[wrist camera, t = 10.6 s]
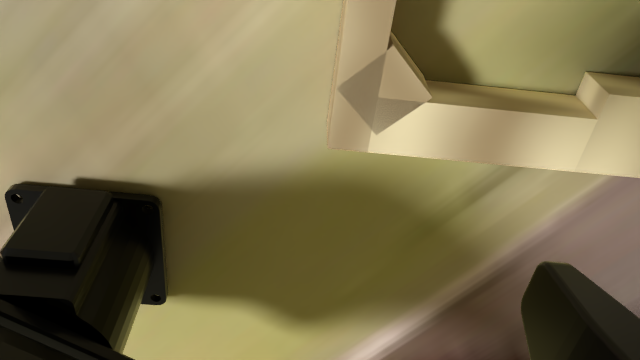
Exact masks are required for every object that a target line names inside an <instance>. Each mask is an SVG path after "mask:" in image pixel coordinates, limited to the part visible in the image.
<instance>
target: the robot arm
mask: <svg viewBox="0 0 640 360" xmlns="http://www.w3.org/2000/svg"><path fill="white" fill-rule="evenodd" d="M16 194H18V195H20V196H21V197H22V198H20V197H18V196H17V195H16ZM5 200H6V203H7V207H8V211H9V214H10V218H11V221H12V225H13V229H14V232H13V233H12V235H11V236H10V237H9V239H8V240H7V242H6V243H5V244H4V246H3V247H2V248H1V250H0V360H135V359H132V358H130V357H128V356H126V355H124V354H122V353H123V350H124V348H125V345H126V342H127V339H128V337H129V334H130V331H131V328H132V325H133V323H134V320H135V317H136V314H137V312H138V309H139V306H140V304H148V305H161V304H164V303H165V302H166V298H167V295H168V286H167V271H166V257H165V243H164V229H163V214H162V204H161V201H160V200H159V199H158V198H156V197H155V196H151V195H142V194H131V193H119V192H107V191H99V190H87V189H75V188H64V187H52V186H38V185H26V184H14V185H12V186H11V187H10V188H9V189H8V190H7V192H6V193H5ZM145 205H149V206H151V207H153V209H149V208H147V207H146V206H145ZM155 294H156V295H155ZM157 295H159V296H157ZM521 314H522V319H523V325H524V330H525V335H526V340H527V345H528V350H529V355H530V360H640V318H638V317H637V316H636V315H635V314H633V313H632V312H631V311H629V310H628V309H627V308H626V307H624V306H623V305H622V304H621V303H619V302H618V301H617V300H615V299H614V298H613V297H612V296H610V295H609V294H608V293H606V292H605V291H604V290H603V289H601V288H600V287H599V286H597V285H596V284H595V283H594V282H592V281H591V280H590V279H589V278H587V277H586V276H585V275H583V274H582V273H581V272H580V271H578V270H577V269H576V268H574V267H573V266H572V265H570V264H568V263H562V262H550V261H545V262H541V263H540V264H539V265H538V266H537V268H536V270H535V272H534V274H533V276H532V278H531V280H530V282H529V285H528V287H527V289H526V291H525V293H524V295H523V298H522V302H521Z"/></svg>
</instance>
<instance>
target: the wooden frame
mask: <svg viewBox="0 0 640 360" xmlns="http://www.w3.org/2000/svg"><path fill="white" fill-rule="evenodd" d="M395 5H396V0H343V6H342V13H341V20H340V28H339V35H338V43H337V50H336V58H335V65H334V73H333V80H332V88H331V95H330V102H329V110H328V117H327V147H328V149H337V150H348V151H359V152H369V153H380V154H391V155H401V156H412V157H423V158H433V159H444V160H455V161H465V162H476V163H487V164H497V165H508V166H519V167H529V168H540V169H551V170H561V171H572V172H583V173H593V174H604V175H615V176H625V177H636V178H640V77H632V76H622V75H613V74H604V73H594V72H585V74H584V76H583V79H582V81H581V84H580V86H579V88H578V91H577V93H576V96H575V95H565V94H556V93H546V92H537V91H527V90H517V89H508V88H498V87H488V86H479V85H469V84H459V83H450V82H440V81H430V80H425V78H424V76H423V74H422V73H421V71H420V70H419V69H418V67H417V66H416V64H415V63H414V62H413V60H412V59H411V58H410V56H409V55H408V54H407V52H406V51H405V49H404V48H403V47H402V45H401V44H400V43H399V41H398V40H397V39H396V37H395V36H394V35H393V33H392V32H391V26H392V21H393V15H394V10H395Z"/></svg>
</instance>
